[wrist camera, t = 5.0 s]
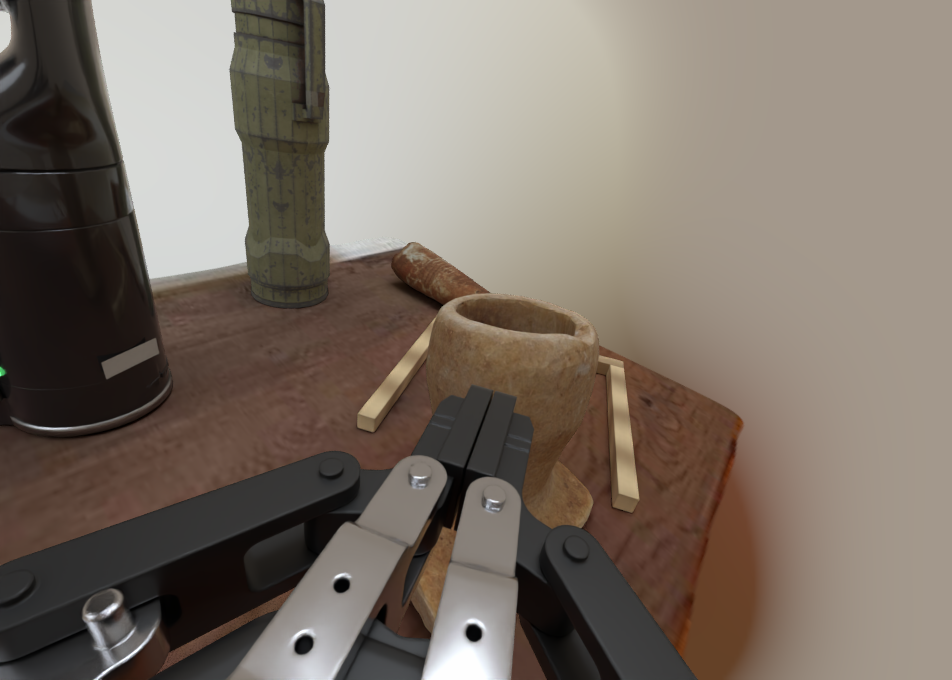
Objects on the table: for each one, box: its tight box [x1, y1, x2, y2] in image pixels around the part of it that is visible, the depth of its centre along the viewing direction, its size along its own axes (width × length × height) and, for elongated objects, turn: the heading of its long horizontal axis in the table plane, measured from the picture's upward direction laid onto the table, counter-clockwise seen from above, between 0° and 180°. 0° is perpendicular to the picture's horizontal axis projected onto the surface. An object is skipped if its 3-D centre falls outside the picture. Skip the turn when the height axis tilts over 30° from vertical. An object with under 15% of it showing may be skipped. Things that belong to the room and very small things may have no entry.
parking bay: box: [357, 316, 639, 513], centre depth 42 cm, size 20×22×2 cm
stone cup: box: [411, 293, 599, 634], centre depth 26 cm, size 15×12×15 cm
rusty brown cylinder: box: [391, 242, 490, 305], centre depth 56 cm, size 6×19×6 cm, turn 45°
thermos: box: [230, 0, 330, 308], centre depth 44 cm, size 9×12×35 cm
